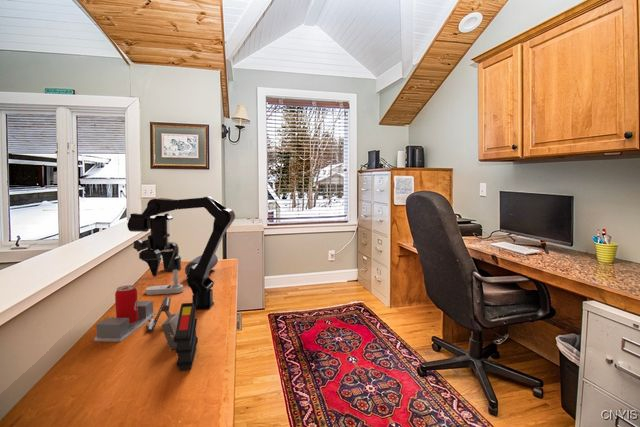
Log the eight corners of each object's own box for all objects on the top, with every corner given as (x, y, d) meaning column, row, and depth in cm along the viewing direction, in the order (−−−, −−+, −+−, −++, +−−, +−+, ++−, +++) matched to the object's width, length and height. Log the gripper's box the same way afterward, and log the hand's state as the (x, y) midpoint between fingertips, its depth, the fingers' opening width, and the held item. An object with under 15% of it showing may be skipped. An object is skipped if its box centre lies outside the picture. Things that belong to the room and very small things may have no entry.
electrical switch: (182, 351, 95) (178, 319, 94) (164, 353, 95) (159, 321, 94) (193, 336, 105) (189, 307, 104) (176, 338, 104) (172, 309, 103)
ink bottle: (166, 267, 186) (165, 246, 185) (182, 267, 188) (182, 245, 187) (161, 272, 177) (160, 249, 175) (179, 271, 178) (178, 249, 177)
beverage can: (142, 319, 114) (140, 284, 113) (132, 327, 108) (130, 290, 107) (123, 319, 114) (121, 284, 113) (112, 327, 108) (110, 290, 107)
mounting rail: (155, 314, 121) (155, 311, 121) (121, 341, 100) (121, 338, 100) (133, 313, 121) (133, 311, 121) (94, 341, 100) (94, 338, 100)
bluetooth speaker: (202, 269, 184) (201, 250, 183) (218, 269, 184) (218, 251, 183) (183, 281, 162) (183, 260, 161) (202, 281, 161) (202, 261, 160)
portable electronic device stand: (149, 322, 115) (148, 298, 114) (174, 319, 117) (174, 295, 117) (146, 333, 106) (145, 307, 106) (173, 329, 109) (173, 304, 108)
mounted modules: (153, 311, 121) (152, 301, 120) (120, 337, 101) (119, 324, 101) (133, 311, 121) (133, 300, 120) (96, 337, 101) (96, 324, 101)
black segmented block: (199, 338, 99) (195, 301, 92) (194, 380, 88) (189, 341, 81) (185, 339, 98) (180, 302, 91) (178, 382, 87) (172, 343, 80)
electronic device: (146, 270, 146) (183, 268, 148) (148, 292, 147) (184, 289, 149) (142, 273, 141) (180, 271, 143) (144, 296, 142) (181, 293, 144)
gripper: (150, 228, 136) (151, 266, 137) (123, 235, 117) (125, 279, 119) (177, 228, 136) (178, 266, 137) (155, 235, 117) (156, 279, 119)
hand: (160, 272), depth 128 cm, fingers open, 9 cm apart
